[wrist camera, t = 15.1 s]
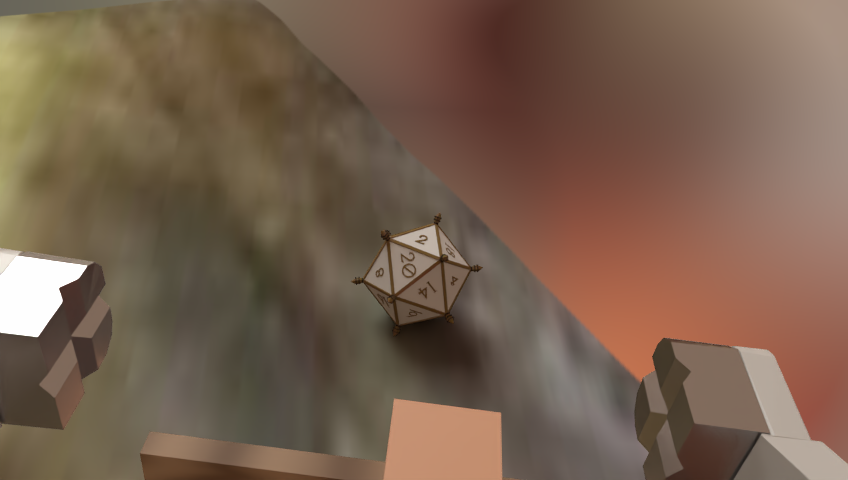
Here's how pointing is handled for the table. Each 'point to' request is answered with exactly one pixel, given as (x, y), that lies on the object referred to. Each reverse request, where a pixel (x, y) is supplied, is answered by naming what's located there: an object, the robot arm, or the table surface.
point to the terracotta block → (443, 443)
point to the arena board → (246, 462)
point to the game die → (417, 275)
